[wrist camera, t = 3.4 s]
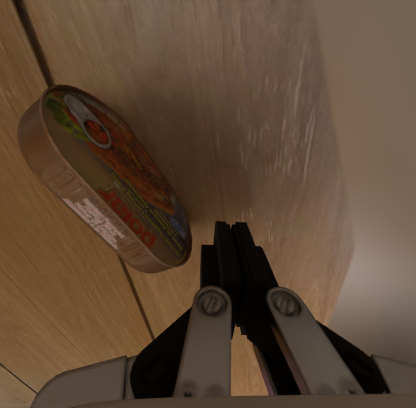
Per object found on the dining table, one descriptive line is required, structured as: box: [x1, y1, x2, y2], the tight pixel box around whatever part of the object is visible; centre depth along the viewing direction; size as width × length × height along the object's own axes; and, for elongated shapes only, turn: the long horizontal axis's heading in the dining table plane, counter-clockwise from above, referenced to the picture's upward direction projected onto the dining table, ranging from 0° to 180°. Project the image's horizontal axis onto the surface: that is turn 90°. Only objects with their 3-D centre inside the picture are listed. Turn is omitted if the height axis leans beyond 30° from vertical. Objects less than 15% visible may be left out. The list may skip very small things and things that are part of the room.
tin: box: [18, 85, 192, 273], centre depth 15 cm, size 15×3×8 cm, turn 28°
